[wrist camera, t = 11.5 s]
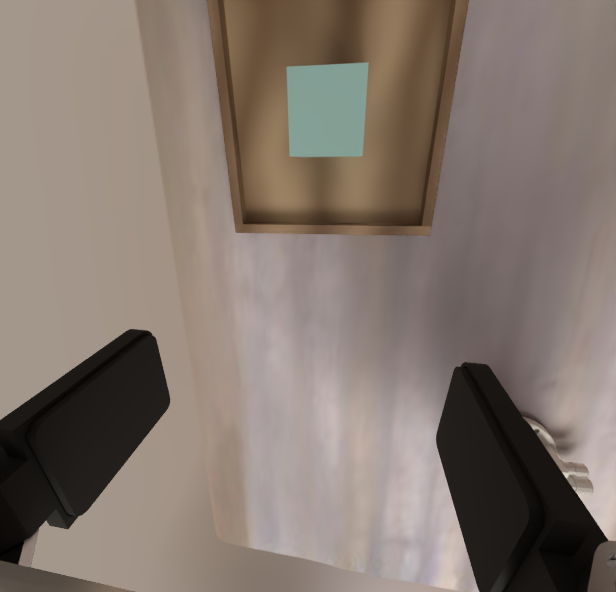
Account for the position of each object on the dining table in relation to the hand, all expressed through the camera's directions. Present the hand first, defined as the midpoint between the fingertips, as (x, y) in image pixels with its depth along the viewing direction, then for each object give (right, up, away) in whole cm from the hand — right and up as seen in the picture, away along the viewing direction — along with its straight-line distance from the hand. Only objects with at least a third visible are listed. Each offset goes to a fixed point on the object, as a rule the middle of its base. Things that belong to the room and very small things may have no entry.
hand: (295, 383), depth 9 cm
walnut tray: (+2, +17, +15) cm, 23 cm away
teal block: (+2, +17, +15) cm, 23 cm away
